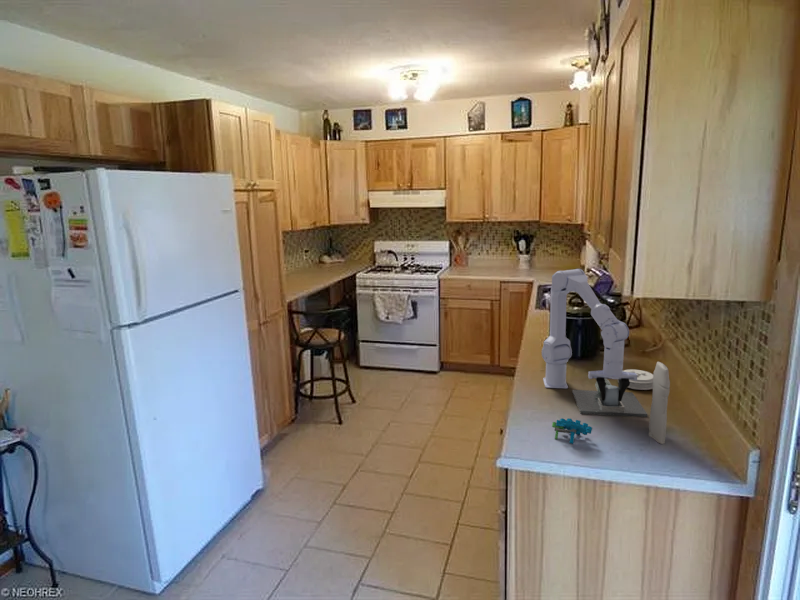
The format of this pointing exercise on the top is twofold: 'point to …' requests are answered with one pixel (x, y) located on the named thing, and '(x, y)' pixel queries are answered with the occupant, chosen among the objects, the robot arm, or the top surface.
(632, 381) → the lid
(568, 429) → the teal bumpy piece
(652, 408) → the tall pale column
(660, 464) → the top surface
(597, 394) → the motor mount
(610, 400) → the grey rounded capsule
